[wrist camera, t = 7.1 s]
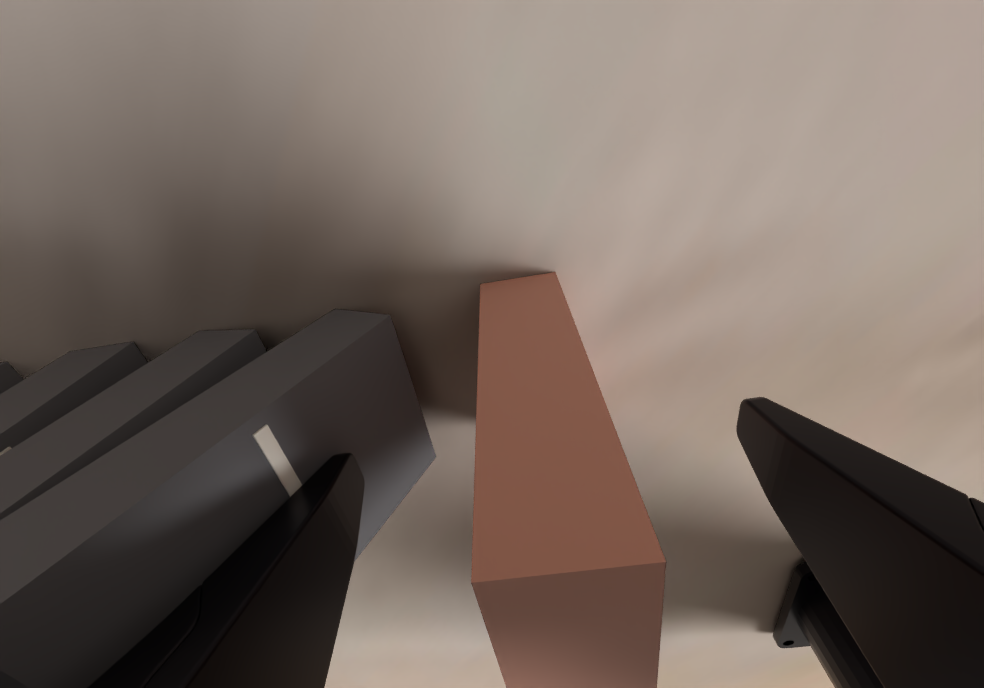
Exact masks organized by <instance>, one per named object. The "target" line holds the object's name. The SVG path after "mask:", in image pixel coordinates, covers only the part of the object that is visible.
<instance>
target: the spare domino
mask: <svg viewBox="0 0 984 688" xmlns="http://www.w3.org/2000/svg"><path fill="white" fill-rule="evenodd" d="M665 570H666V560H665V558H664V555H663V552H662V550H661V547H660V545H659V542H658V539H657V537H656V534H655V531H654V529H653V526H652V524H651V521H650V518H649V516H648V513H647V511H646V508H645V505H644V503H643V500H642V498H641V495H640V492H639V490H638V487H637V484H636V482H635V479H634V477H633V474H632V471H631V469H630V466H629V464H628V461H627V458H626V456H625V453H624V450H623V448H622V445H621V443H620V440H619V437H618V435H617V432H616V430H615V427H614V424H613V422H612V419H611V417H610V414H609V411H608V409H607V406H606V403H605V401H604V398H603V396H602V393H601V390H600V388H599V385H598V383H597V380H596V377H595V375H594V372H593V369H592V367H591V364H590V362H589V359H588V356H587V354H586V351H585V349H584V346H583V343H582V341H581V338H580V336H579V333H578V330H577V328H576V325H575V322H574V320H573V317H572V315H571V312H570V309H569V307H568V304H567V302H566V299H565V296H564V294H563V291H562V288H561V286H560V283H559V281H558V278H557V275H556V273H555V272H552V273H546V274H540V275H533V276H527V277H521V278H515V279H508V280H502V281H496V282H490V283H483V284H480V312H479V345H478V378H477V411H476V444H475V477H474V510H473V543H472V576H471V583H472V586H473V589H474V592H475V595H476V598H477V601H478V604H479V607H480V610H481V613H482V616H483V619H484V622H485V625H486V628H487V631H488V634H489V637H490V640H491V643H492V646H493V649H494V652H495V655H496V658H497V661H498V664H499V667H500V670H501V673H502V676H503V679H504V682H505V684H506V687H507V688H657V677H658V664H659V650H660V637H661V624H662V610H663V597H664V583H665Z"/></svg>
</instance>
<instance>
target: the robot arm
mask: <svg viewBox="0 0 984 688" xmlns="http://www.w3.org/2000/svg"><path fill="white" fill-rule="evenodd" d="M737 435H738V438H739V441H740V443H741V445H742V447H743V449H744V451H745V453H746V455H747V457H748V459H749V461H750V464H751V466H752V468H753V470H754V472H755V474H756V476H757V478H758V480H759V482H760V484H761V487H762V489H763V491H764V493H765V495H766V497H767V498H768V500H769V502H770V504H771V506H772V507H773V509H774V511H775V513H776V514H777V516H778V517H779V519H780V521H781V522H782V524H783V525H784V527H785V529H786V530H787V532H788V533H789V535H790V537H791V538H792V540H793V542H794V543H795V545H796V546H797V548H798V550H799V551H800V553H801V554H802V556H803V558H804V559H805V561H806V562H804V563H802V564H800V565H798V566H797V567H796V569H795V571H794V574H793V577H792V580H791V583H790V586H789V589H788V592H787V595H786V598H785V600H784V603H783V606H782V609H781V612H780V615H779V618H778V621H777V624H776V627H775V630H774V633H773V638H774V640H775V641H776V643H777V645H778V646H779V647H780V648H793V647H804V646H811V648H812V649H813V651H814V653H815V654H816V656H817V658H818V660H819V661H820V663H821V665H822V666H823V668H824V670H825V671H826V673H827V675H828V677H829V678H830V680H831V682H832V683H833V685H834V687H835V688H984V503H983V502H981V501H979V500H977V499H975V498H968V496H967V495H966V494H964V493H962V492H960V491H958V490H956V489H954V488H952V487H949V486H947V485H945V484H943V483H941V482H939V481H937V480H935V479H933V478H931V477H929V476H927V475H925V474H922V473H920V472H918V471H916V470H914V469H912V468H910V467H908V466H906V465H904V464H902V463H900V462H898V461H895V460H893V459H891V458H889V457H887V456H885V455H883V454H881V453H879V452H877V451H875V450H873V449H871V448H869V447H866V446H864V445H862V444H860V443H858V442H856V441H854V440H852V439H850V438H848V437H846V436H844V435H842V434H839V433H837V432H835V431H833V430H831V429H829V428H827V427H825V426H823V425H821V424H819V423H817V422H815V421H812V420H810V419H808V418H806V417H804V416H802V415H800V414H798V413H796V412H794V411H792V410H790V409H788V408H785V407H783V406H781V405H779V404H777V403H775V402H773V401H771V400H769V399H767V398H764V397H757V398H750V399H745V400H743V401H742V402H741V404H740V410H739V415H738V421H737ZM364 489H365V480H364V476H363V474H362V472H361V469H360V467H359V465H358V463H357V461H356V459H355V457H354V455H353V454H352V453H341V454H335V455H333V456H332V457H331V458H330V459H329V460H327V461H326V462H325V463H324V464H323V465H322V466H321V467H320V468H319V469H318V470H317V471H316V472H315V473H314V474H313V475H312V476H311V477H310V478H309V479H308V480H307V481H306V482H305V483H304V484H303V485H302V486H301V487H300V488H299V489H298V490H297V491H296V492H295V493H294V494H293V495H292V496H291V497H289V498H288V499H287V500H286V501H285V502H284V503H283V504H282V505H281V506H280V507H279V508H278V509H277V510H276V511H275V512H274V513H273V514H272V515H271V516H270V517H269V518H268V519H267V520H266V521H265V522H264V523H263V524H262V525H261V526H260V527H259V528H258V529H257V530H256V531H255V532H254V533H252V534H251V535H250V536H249V537H248V538H247V539H246V540H245V541H244V542H243V543H242V544H241V545H240V546H239V547H238V548H237V549H236V550H235V551H234V552H233V553H232V554H231V555H230V556H229V557H228V558H227V559H226V560H225V561H224V562H223V563H222V564H221V565H220V566H219V567H218V568H216V569H215V570H214V571H213V572H212V573H211V574H210V575H209V576H208V577H207V578H206V579H205V580H204V581H203V583H202V585H199V586H198V587H197V588H196V589H195V590H194V591H193V592H192V593H191V594H190V595H189V596H188V597H187V598H186V599H184V600H183V601H182V602H181V603H180V604H179V605H178V606H177V607H176V608H175V609H174V610H173V611H172V612H171V613H170V614H169V615H168V616H167V617H165V618H164V619H163V620H162V621H161V622H160V623H159V624H158V625H157V626H156V627H155V628H154V629H153V630H152V631H150V632H149V633H148V634H147V635H146V636H145V637H144V638H143V639H141V640H140V641H139V642H138V643H137V644H136V645H135V646H134V647H133V648H131V649H130V650H129V651H128V652H127V653H126V654H125V655H124V656H122V657H121V658H120V659H119V660H118V661H117V662H116V663H114V664H113V665H112V666H111V667H110V668H109V669H108V670H106V671H105V672H104V673H103V674H102V675H101V676H100V677H98V678H97V679H96V680H95V681H94V682H93V683H92V684H90V685H89V686H88V687H87V688H324V687H325V682H326V678H327V674H328V670H329V666H330V661H331V657H332V653H333V649H334V644H335V640H336V636H337V632H338V628H339V623H340V619H341V615H342V611H343V606H344V602H345V598H346V594H347V590H348V585H349V581H350V577H351V573H352V568H353V564H354V560H355V555H356V550H357V544H358V537H359V529H360V521H361V513H362V505H363V497H364Z"/></svg>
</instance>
